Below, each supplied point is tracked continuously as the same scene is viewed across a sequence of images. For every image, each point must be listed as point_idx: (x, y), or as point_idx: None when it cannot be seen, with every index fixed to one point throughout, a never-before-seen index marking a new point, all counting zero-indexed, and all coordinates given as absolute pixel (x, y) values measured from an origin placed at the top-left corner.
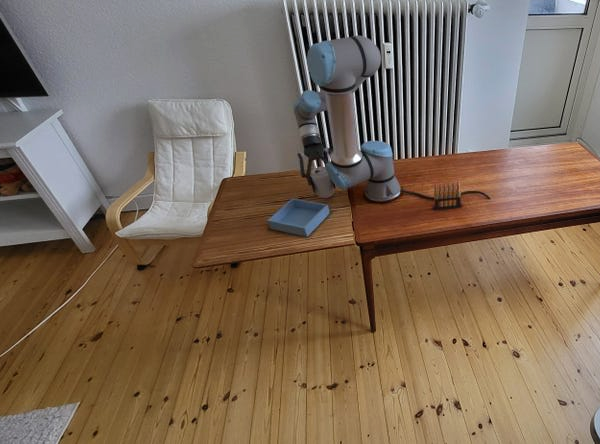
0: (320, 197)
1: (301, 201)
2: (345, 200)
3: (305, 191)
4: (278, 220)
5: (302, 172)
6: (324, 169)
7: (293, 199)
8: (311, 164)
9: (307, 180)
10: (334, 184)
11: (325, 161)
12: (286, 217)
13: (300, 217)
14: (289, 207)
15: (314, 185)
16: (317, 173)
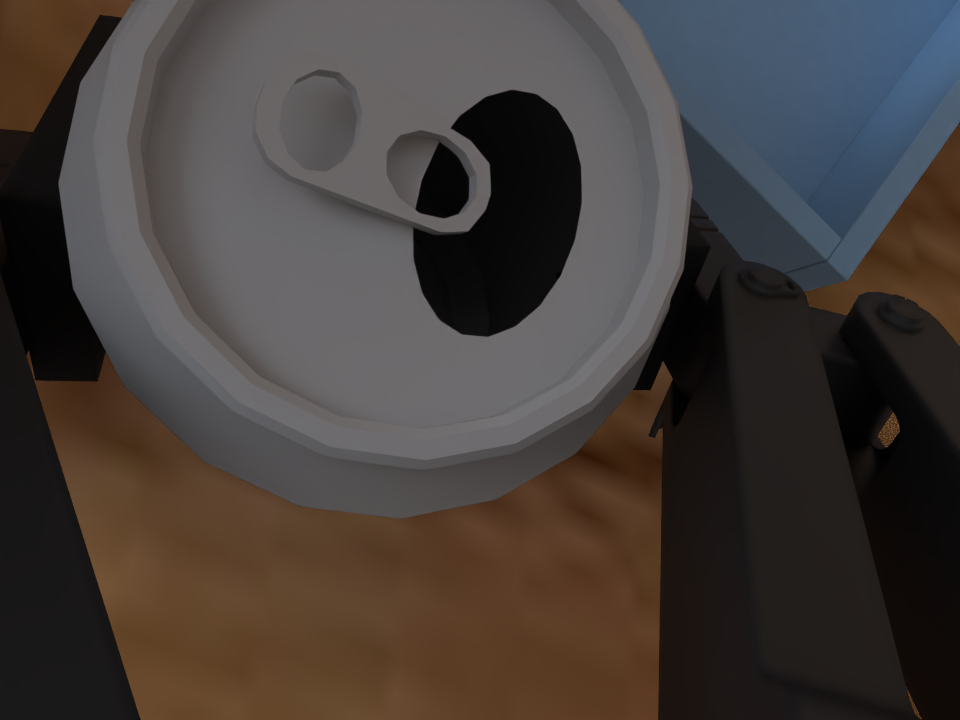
0: (432, 257)
1: (733, 136)
2: (46, 106)
3: (611, 649)
4: (946, 30)
5: (932, 356)
6: (221, 229)
7: (838, 237)
8: (687, 671)
9: (725, 245)
10: (99, 35)
11: (10, 577)
12: (857, 90)
13: (713, 5)
14: (856, 175)
15: (552, 206)
16: (509, 65)
